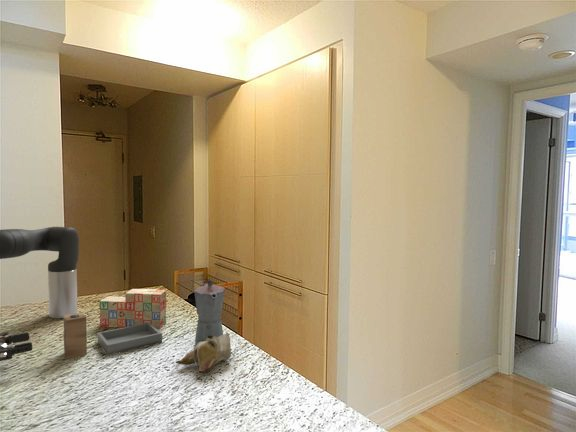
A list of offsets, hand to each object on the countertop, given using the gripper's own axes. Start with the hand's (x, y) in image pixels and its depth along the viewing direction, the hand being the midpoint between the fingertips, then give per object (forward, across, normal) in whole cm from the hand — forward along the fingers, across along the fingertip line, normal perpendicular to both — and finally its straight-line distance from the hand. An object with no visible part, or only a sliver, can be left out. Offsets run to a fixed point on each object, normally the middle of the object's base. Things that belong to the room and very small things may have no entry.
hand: (30, 341), depth 106 cm
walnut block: (+11, 0, +6) cm, 12 cm away
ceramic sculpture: (+38, -30, +7) cm, 49 cm away
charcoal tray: (+26, -1, +6) cm, 27 cm away
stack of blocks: (+32, +14, +7) cm, 35 cm away
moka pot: (+46, -15, +6) cm, 49 cm away
